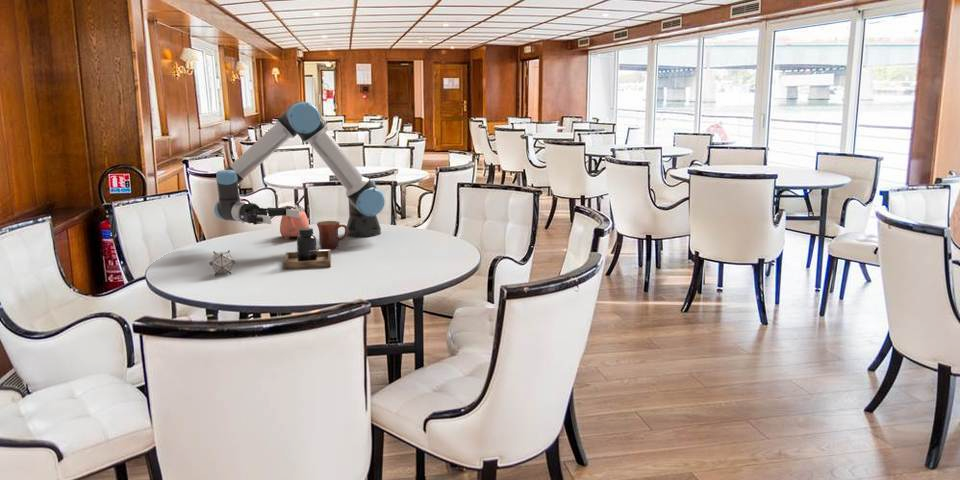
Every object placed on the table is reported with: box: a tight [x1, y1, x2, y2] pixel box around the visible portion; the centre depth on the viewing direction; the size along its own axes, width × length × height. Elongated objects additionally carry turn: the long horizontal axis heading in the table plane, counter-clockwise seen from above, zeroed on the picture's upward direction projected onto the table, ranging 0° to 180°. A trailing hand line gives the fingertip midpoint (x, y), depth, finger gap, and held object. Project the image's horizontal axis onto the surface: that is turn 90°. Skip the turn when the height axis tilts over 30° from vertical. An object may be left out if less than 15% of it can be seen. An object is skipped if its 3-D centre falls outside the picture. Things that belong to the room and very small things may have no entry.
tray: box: [283, 250, 332, 270], centre depth 257 cm, size 16×16×2 cm
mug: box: [316, 220, 348, 250], centre depth 280 cm, size 12×9×10 cm
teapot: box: [279, 208, 310, 240], centre depth 300 cm, size 20×12×12 cm, turn 2°
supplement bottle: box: [296, 227, 318, 261], centre depth 255 cm, size 7×7×12 cm
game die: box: [208, 250, 236, 276], centre depth 241 cm, size 9×8×10 cm
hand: (284, 216), depth 258 cm, fingers open, 13 cm apart
